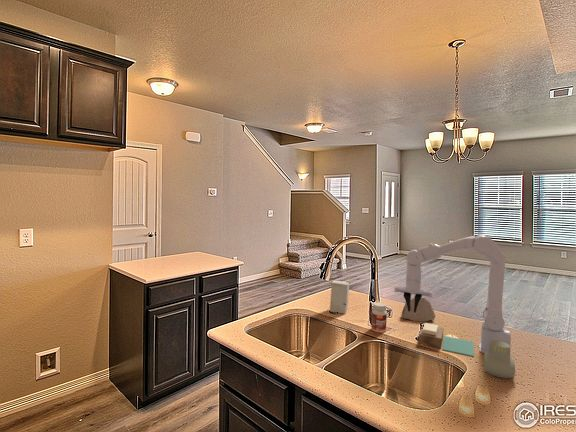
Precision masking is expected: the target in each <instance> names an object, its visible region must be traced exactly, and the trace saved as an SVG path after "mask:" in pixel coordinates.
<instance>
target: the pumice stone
mask: <svg viewBox="0 0 576 432" xmlns="http://www.w3.org/2000/svg"><path fill="white" fill-rule="evenodd" d="M414 305H415V298H414V297H413V298H412V299H411V310H410V312H409V311H408V307H407V303H406V302H405V304H404V306H403V309H402V312H401V317H402V318H404V319H405V320H410V321H413V322H429V321H434V320H435V318H436V313H435V311H434V308H433V306H432V305H431V303H430V301H429V300H428V299H426V298H425V297H421V299H420V301H419V303H418V306H417V310H416V313H415V312H414Z"/></svg>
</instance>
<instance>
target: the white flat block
mask: <svg viewBox="0 0 576 432" xmlns="http://www.w3.org/2000/svg"><path fill="white" fill-rule="evenodd" d="M438 327H439V325H438V324H434V323H428V322H424V327H423V331H422V333H426V334H431V335H436V334H437V330H438Z"/></svg>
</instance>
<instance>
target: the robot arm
mask: <svg viewBox="0 0 576 432" xmlns="http://www.w3.org/2000/svg"><path fill="white" fill-rule="evenodd" d="M473 248H474V249H475V251H476V252H477V253H479V254H481V255H484V256H485V257H486V258H487V259H488V260H489V275H488V286H487V287H488V288H487V289H488V290H487V299H486V300H487V301H486V305H485V309H484V310H483V311H482V318H483V319H484V322H483V323H481V332H480V334H481V335H480V337H481V338H480V342H479V344H478V347H479V348H478V349H479V352H480V353H482V354H485V353H488V352H489V345H490V342H491V341H494V340H495V341H502V342H505V343H507V344H509V345H510V346H511V341H512V339H511V337H512V336H511V335H512V334H511V331H510V330H507V329H505V328H504V327H505V319H504V318H503V296H504V295H503V294H504V282H505V269H506V256H505V254H504V253H503V252H502V250H501V249H500V247H499V246H498V244H497V243H496V242H495V241H494V240H493V239H492V238H491V237H489V236H488V235H486V234H478V235H472V236H467V237H466V236H465V237H463V238H460V239H456V240H453V241H450V242H447V243H444V244H442V245H439V244H436V243H432V242H431V243H428V245H426V246H422V247H418V246H417V248H416V249H411V250H410V251H409V252H408V253H407V254H406V261H407V263H406V276H405V286H394V293H403V298H404V300H405V303H407V307H408V311H409V312H410V310H411V300H412V299H411V298H412V295H414V297H413V298H415V305H414V312H415V313H416V310H417V306H418V303H419V301H420V299H421V298H423V296H424V297H429V298H432V297H433V291H430V290H426V289H422V288H421V287H422V286H421V284H422V262H425V263H426V262H428V261H433V260H436V259H440V258H441V257H442V255H443V254H446V253H449V252H453V251H454V252H455V251H457V250H461V249H466V250H470V251H473V250H474V249H473Z"/></svg>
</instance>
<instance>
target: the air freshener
mask: <svg viewBox="0 0 576 432" xmlns="http://www.w3.org/2000/svg"><path fill="white" fill-rule="evenodd" d="M511 348H512V347H511V344H510V345H509V344H507V343H505V342H502V341H495V340H494V341H491V342H490V345H489V352H488V353H483V354H484V355H483V369H484V371H486V372H487V373H489V374H490V375H492V376H494V377H497V378H502V379H507V378H508V379H510V378H513V377H515V375H516V364H515V359H513V358H512V357H511Z"/></svg>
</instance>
